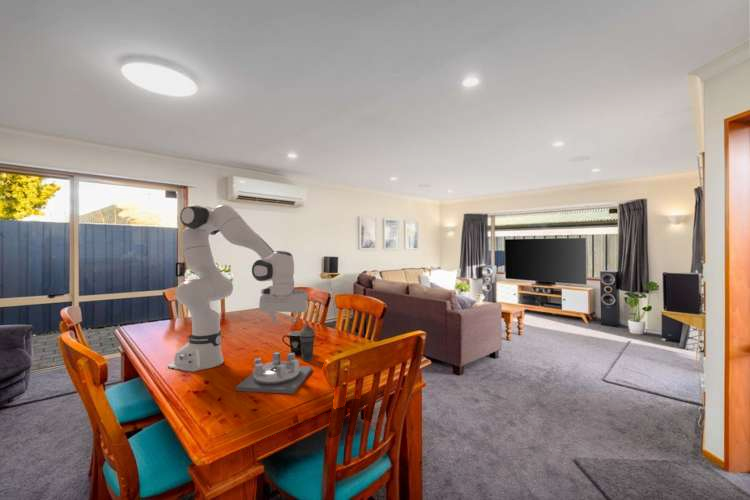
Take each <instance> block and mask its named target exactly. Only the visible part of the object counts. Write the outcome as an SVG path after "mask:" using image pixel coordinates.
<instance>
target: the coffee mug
mask: <svg viewBox="0 0 750 500" xmlns="http://www.w3.org/2000/svg"><path fill="white" fill-rule="evenodd" d="M300 332H301V330H297V331H296V330H295V331H291V332H289V333H288V335H287V334H286V335H283V336H282V339H281V340H282V342H283V344H284V345H286V346H287V347H289V348H290V353H295V356H302V350H301V341H300ZM285 337H287V338H288V339H289V344H288V343H287V342H286V341H285V339H284V338H285Z"/></svg>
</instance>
